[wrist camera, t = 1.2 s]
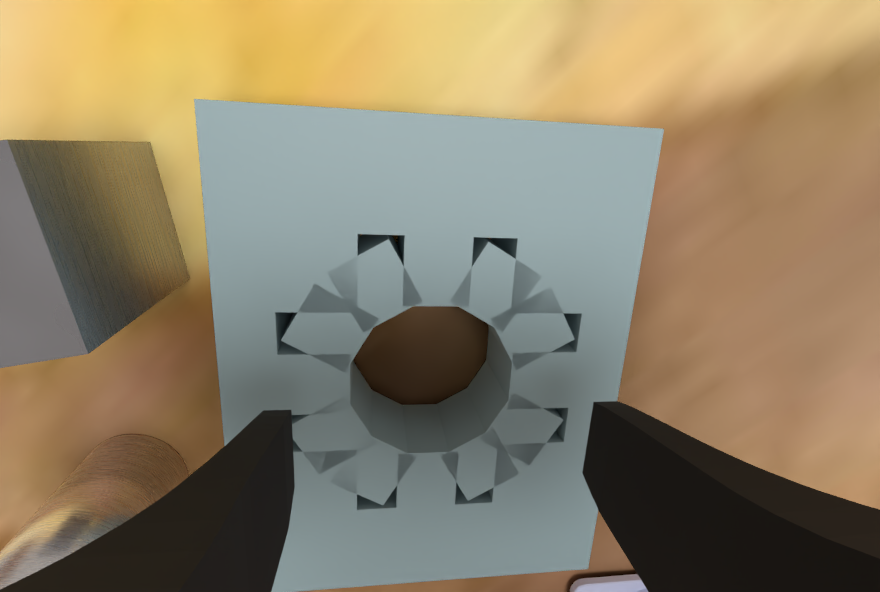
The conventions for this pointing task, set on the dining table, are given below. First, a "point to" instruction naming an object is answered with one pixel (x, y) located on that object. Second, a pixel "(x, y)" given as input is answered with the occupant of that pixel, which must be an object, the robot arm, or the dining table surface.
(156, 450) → the round bit
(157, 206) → the square bar
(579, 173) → the socket block
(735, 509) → the robot arm
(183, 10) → the dining table surface
